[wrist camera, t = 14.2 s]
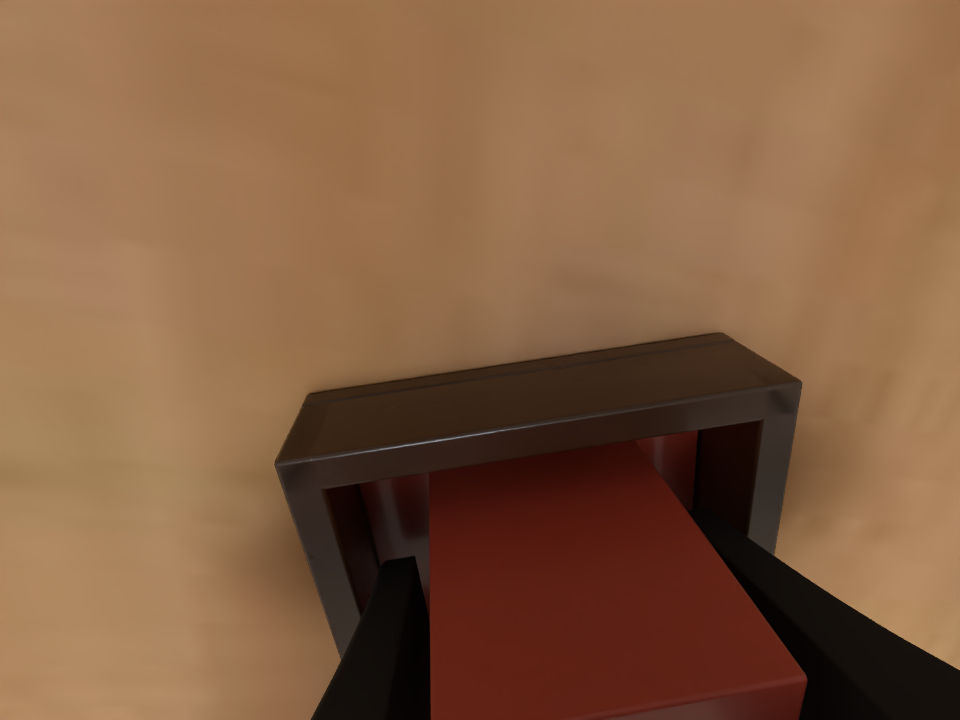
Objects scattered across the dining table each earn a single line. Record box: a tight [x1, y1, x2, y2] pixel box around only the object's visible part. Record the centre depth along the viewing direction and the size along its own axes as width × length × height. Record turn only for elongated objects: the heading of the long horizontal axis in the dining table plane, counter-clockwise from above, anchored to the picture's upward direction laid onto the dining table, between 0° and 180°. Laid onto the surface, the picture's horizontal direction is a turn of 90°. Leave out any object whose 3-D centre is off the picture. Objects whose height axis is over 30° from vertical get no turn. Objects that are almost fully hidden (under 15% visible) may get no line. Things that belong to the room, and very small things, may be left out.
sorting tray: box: [274, 333, 802, 660], centre depth 12 cm, size 15×9×2 cm, turn 7°
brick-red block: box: [429, 440, 808, 720], centre depth 9 cm, size 4×4×6 cm
